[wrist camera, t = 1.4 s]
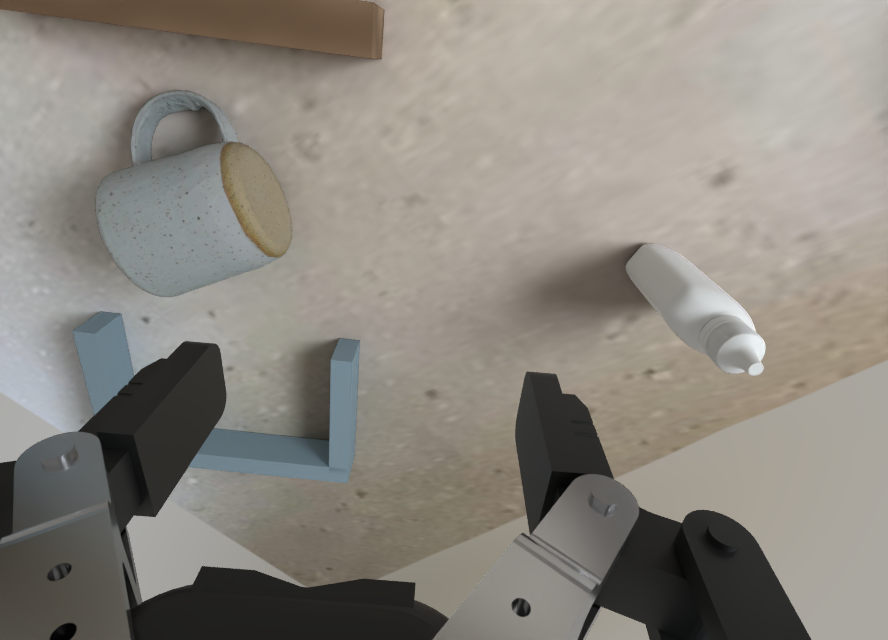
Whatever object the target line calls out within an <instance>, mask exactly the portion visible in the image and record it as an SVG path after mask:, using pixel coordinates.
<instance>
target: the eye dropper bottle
mask: <svg viewBox="0 0 888 640" xmlns="http://www.w3.org/2000/svg"><path fill="white" fill-rule="evenodd" d="M626 272H627V274H628V276H629V277H630V279H631V280H632V282H633V283H634V284H635V286H636V287H637V288H638V289H639V291H640V292H641V293H642V294H643V296H644V297H645V298H646V299H647V300H648V302H649V303H650V304H651V305H652V307H653V308H654V309H655V310H656V312H657V313H658V314H659V315H660V316H661V318H662V319H663V320H664V321H665V323H666V324H667V325H668V326H669V327H670V329H671V330H672V331H673V332H674V333H675V334H676V335H677V336H678V337H679V338H680V339H681V340H682V341H683V342H684V343H686V344H687V345H688V346H690V347H692V348H693V349H695V350H697V351H699V352H701V353H703V354H706V355H708V356H709V357H710V358H711V359H712V361H713V362H714V363H715V364H716V365H717V366H718V368H720V369H721V370H722V371H724V372H728V373H733V374H734V373H735V374H736V373H742V372H747V373H749V374H750V375H758V374H760V373H761V372H762V371H763V369H764V367H763V365H762V363H761V360H762V358H763V356H764V354H765V349H766V348H765V343H764V340H763V339H762V338H761V337H760V336H759V335H758V334H757V333H756V330H755V327H754V324H753V322H752V320H751V318H750V316H749V315H748V313H747V312H746V311H745V309H744V308H743V307H742V306H741V305H740V304H739V303H738V302H736V301H735V300H734V299H733V298H732V297H731V296H730V295H728V294H727V293H726V292H725V291H724V290H723V289H721V288H720V287H719V286H718V285H717V284H715V283H714V282H713V281H712V280H711V279H710V278H708V277H707V276H706V275H705V274H704V273H703V272H701V271H700V270H699V269H698V268H697V267H695V266H694V265H693V264H692V263H691V262H690V261H688V260H687V259H686V258H685V257H683V256H682V255H680V254H679V253H677V252H676V251H674V250H672V249H669V248H667V247H664V246H660V245H656V244H644V245H643V246H641V247H640V248H639V249H638V251H637V252H636V253H635V254H634V255H633V256H632V257H631V258H630V260H629V261H628V262H627V264H626Z"/></svg>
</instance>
